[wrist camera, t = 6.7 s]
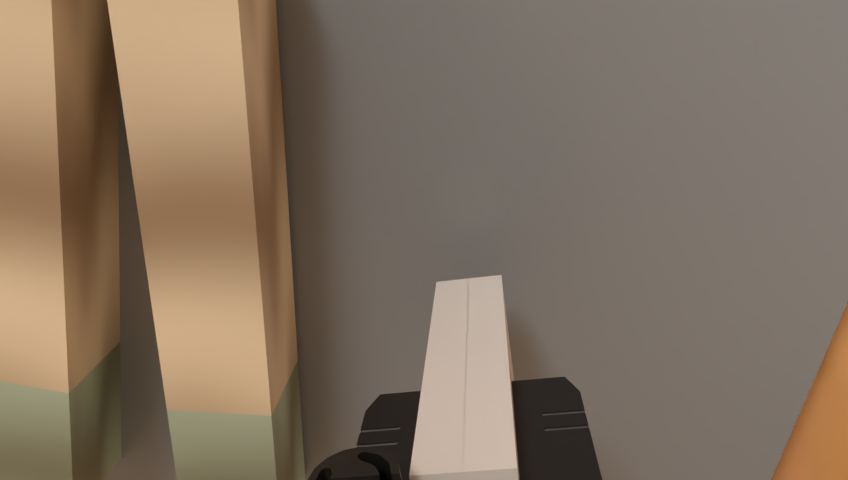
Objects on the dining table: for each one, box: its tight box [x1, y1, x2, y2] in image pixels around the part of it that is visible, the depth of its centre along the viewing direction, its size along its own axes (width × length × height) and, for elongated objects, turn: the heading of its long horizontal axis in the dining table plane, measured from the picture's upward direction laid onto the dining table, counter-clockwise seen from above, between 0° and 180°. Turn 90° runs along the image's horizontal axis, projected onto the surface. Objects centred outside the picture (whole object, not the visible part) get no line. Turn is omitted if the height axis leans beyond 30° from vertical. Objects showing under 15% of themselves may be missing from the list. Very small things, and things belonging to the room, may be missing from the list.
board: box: [106, 0, 848, 480], centre depth 17 cm, size 22×22×1 cm
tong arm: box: [107, 0, 305, 480], centre depth 16 cm, size 15×2×2 cm, turn 179°
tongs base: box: [0, 0, 122, 480], centre depth 14 cm, size 20×5×4 cm, turn 171°
